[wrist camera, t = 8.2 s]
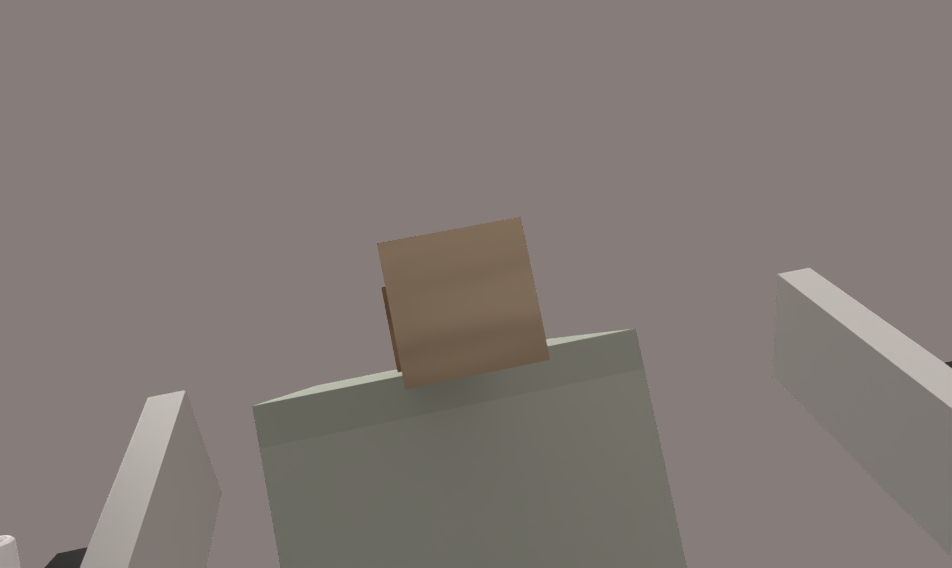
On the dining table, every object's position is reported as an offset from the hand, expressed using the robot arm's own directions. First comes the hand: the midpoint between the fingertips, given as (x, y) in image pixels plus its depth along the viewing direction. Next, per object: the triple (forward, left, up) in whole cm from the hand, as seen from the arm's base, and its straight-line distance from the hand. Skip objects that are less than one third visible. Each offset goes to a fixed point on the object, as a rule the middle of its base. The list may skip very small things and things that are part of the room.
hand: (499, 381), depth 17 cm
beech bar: (+7, +8, 0) cm, 11 cm away
